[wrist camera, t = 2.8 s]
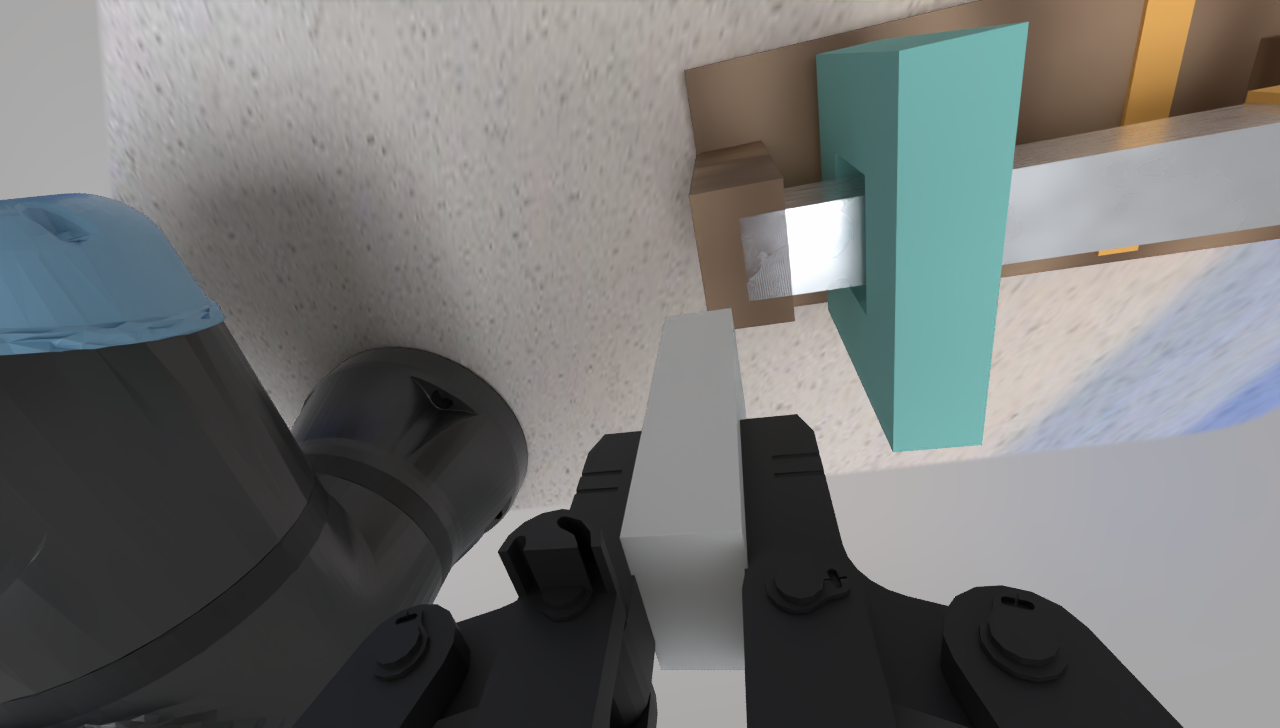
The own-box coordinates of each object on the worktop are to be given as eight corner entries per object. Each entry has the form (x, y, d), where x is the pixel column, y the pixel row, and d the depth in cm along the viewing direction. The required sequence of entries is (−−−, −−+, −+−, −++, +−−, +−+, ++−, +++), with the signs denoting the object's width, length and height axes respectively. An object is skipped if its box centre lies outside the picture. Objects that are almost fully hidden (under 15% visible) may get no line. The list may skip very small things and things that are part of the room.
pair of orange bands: (1095, 254, 25) (1272, 345, 17) (1149, -25, 20) (1435, -79, 12) (1134, 248, 25) (1333, 338, 17) (1199, -36, 20) (1527, -101, 12)
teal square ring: (828, 309, 26) (892, 452, 17) (815, 54, 21) (899, 51, 12) (882, 302, 26) (981, 444, 16) (883, 38, 21) (1029, 21, 11)
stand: (720, 305, 30) (723, 410, 21) (685, 70, 25) (669, 76, 16) (1251, 229, 25) (1549, 323, 16) (1354, -89, 20) (1893, -213, 11)
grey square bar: (745, 272, 22) (749, 301, 19) (735, 197, 20) (738, 217, 18) (1442, 163, 17) (1572, 182, 15) (1491, 58, 16) (1645, 57, 13)
